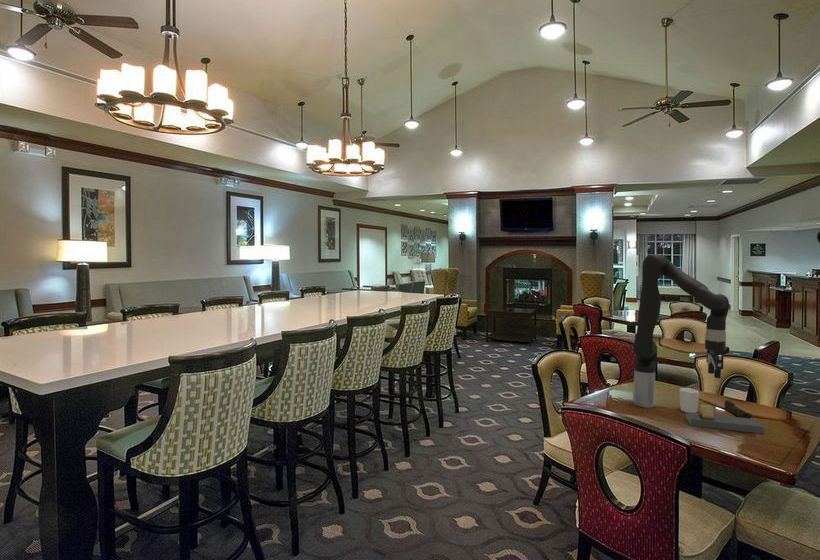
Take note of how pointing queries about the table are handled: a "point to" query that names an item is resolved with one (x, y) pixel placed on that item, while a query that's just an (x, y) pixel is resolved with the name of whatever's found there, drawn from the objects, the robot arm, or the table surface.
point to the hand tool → (736, 410)
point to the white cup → (689, 400)
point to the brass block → (706, 412)
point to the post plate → (725, 423)
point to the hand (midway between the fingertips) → (714, 375)
